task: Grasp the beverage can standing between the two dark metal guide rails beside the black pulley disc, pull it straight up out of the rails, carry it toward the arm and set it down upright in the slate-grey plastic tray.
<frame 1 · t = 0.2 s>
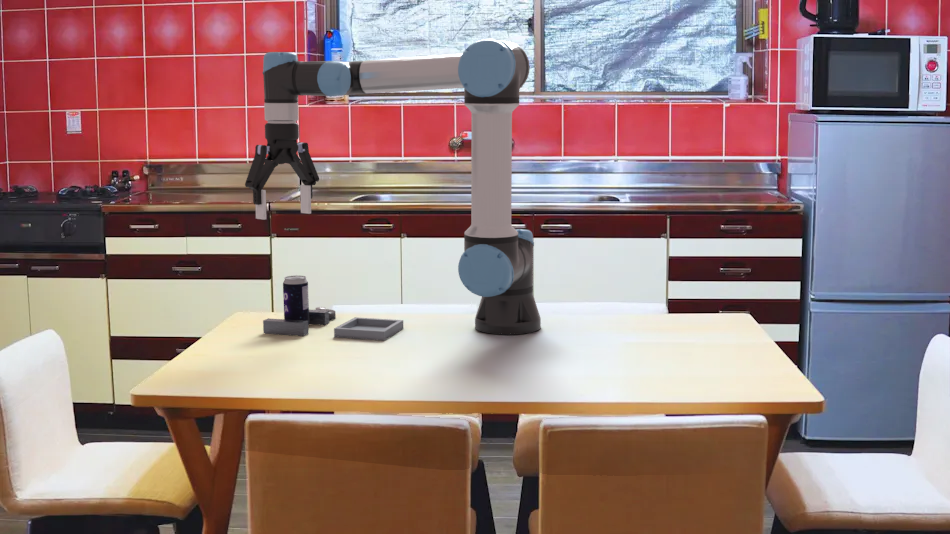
hand: (284, 216, 251), 26 cm above the table, fingers open, 13 cm apart
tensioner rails: (297, 328, 255), on the table
tray: (369, 332, 250), on the table
beverage can: (297, 329, 255), on the table
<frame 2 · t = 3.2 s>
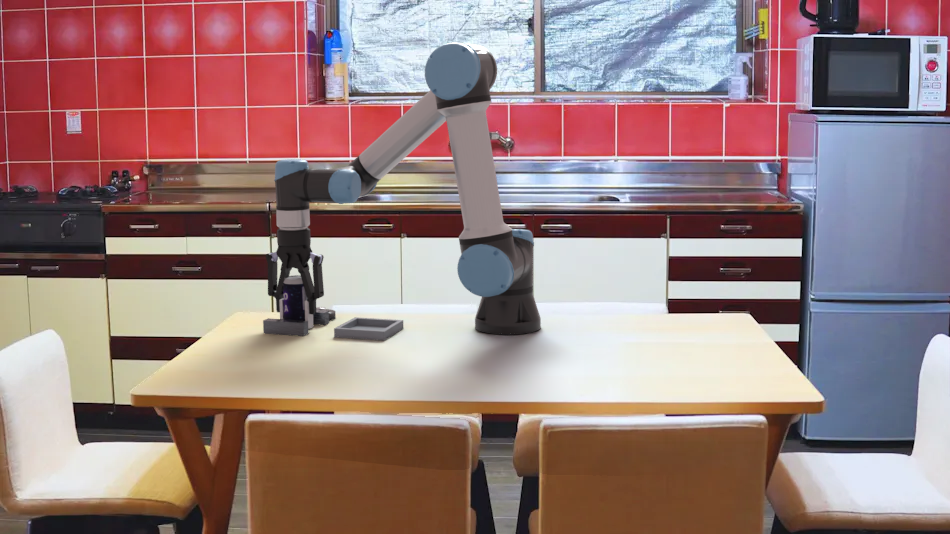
hand: (296, 326, 255), 0 cm above the table, fingers closed on beverage can, 6 cm apart
beverage can: (297, 329, 255), on the table, touching gripper
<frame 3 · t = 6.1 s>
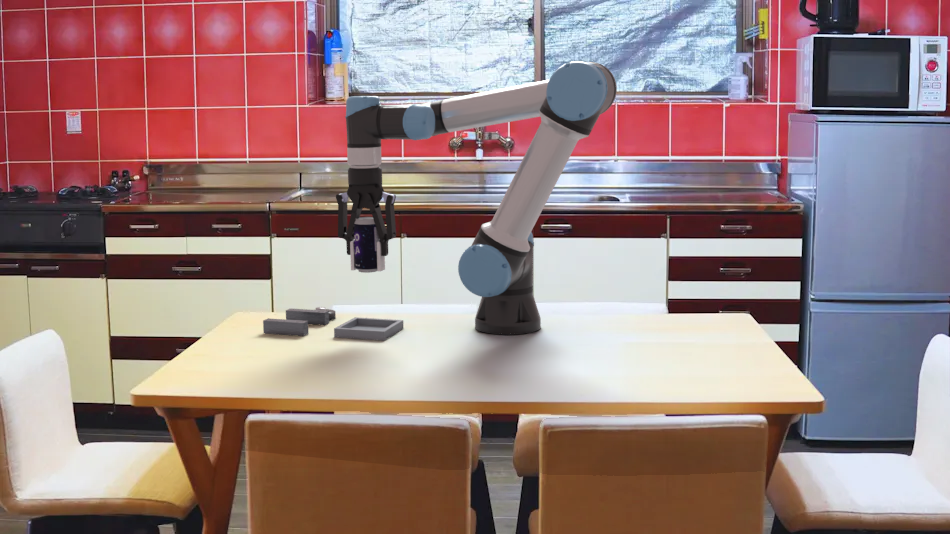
hand: (368, 269, 247), 15 cm above the table, fingers closed on beverage can, 6 cm apart
beverage can: (368, 271, 247), point 14 cm above the table, touching gripper
when the fingers open (3 cm above the table, at t = 9.0 s): beverage can drops 2 cm, resting on tray.
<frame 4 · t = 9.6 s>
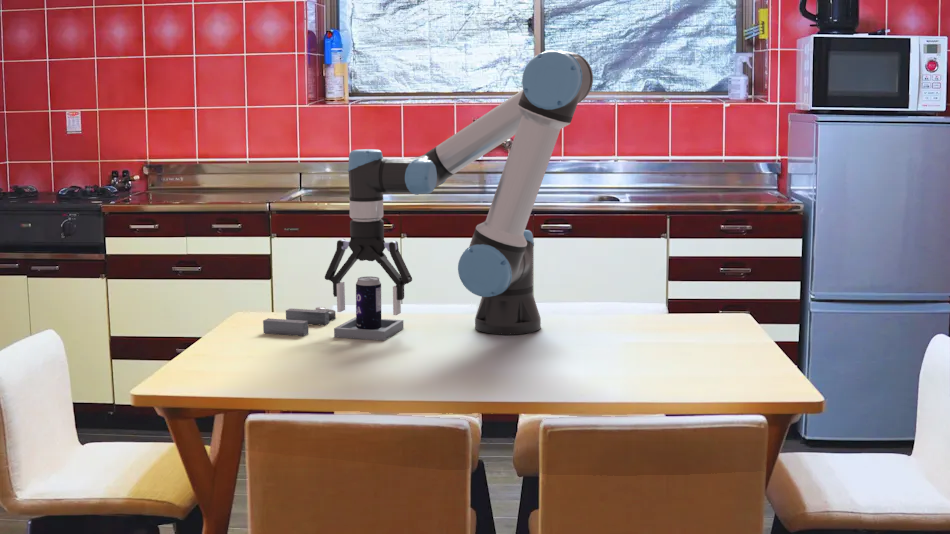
hand: (368, 312, 249), 5 cm above the table, fingers open, 13 cm apart
beverage can: (368, 331, 250), resting on tray
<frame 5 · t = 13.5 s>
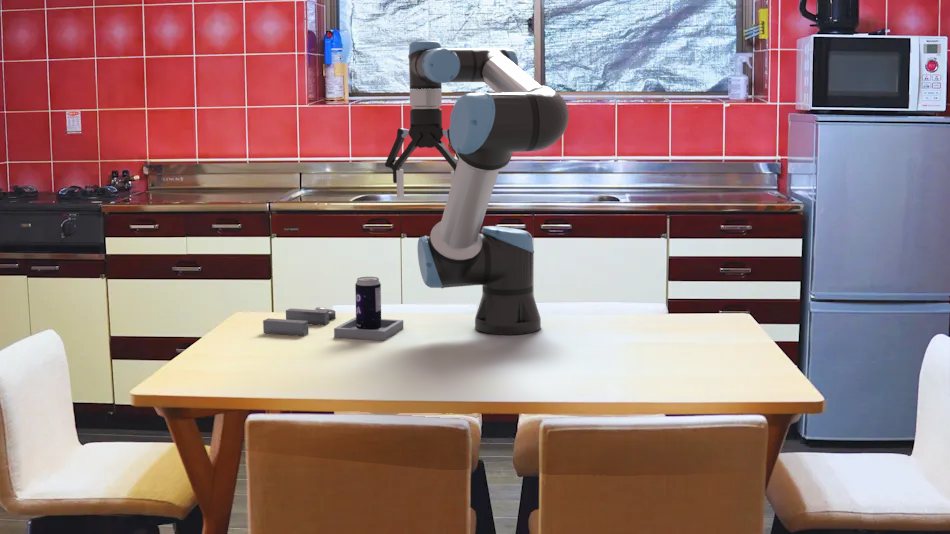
hand: (427, 197, 263), 29 cm above the table, fingers open, 13 cm apart
nothing on the table moved.
at the end: beverage can inside the target area on the tray (0.1 cm from its centre), point 0.3 cm above the tray's base; beverage can tilted 0°; the gripper is holding nothing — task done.
